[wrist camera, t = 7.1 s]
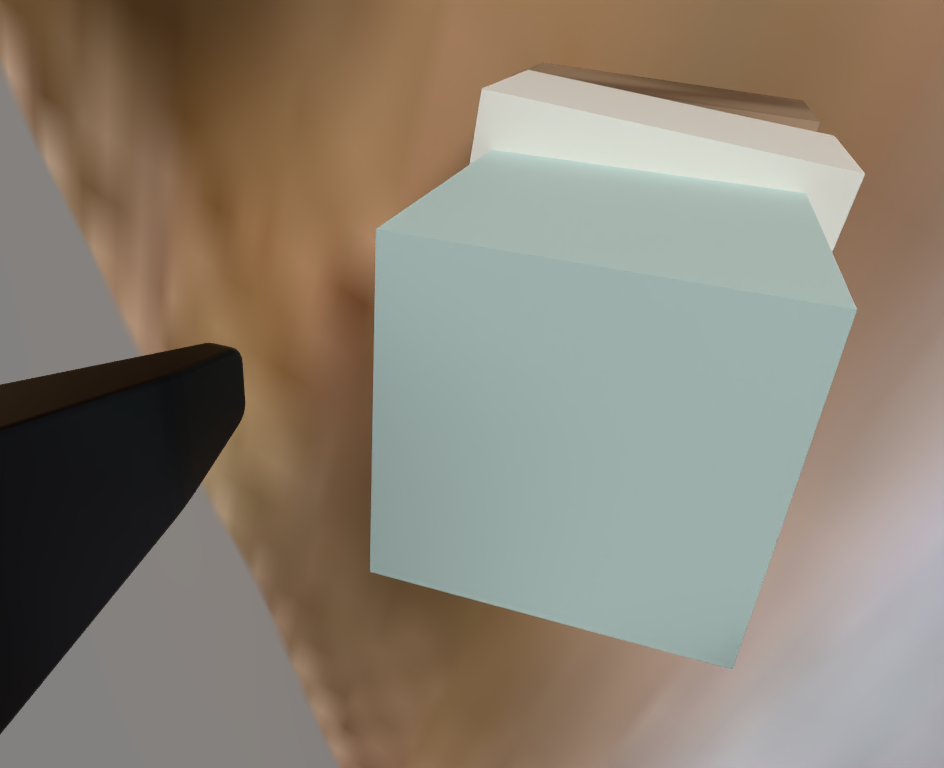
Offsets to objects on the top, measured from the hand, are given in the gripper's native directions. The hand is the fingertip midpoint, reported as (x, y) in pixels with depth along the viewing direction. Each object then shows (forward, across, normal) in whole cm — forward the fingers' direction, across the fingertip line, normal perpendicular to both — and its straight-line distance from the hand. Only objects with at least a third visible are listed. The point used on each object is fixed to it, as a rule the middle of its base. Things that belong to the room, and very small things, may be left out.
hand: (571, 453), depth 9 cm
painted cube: (+5, 0, 0) cm, 5 cm away
